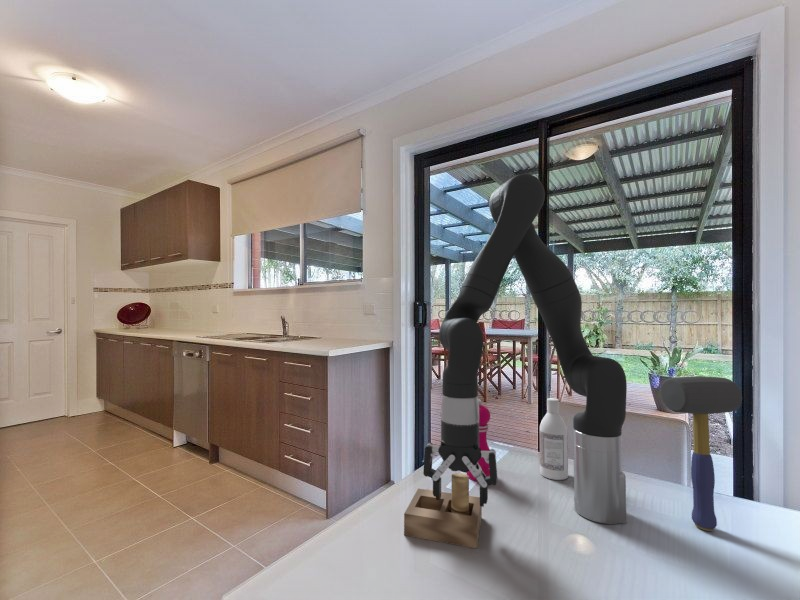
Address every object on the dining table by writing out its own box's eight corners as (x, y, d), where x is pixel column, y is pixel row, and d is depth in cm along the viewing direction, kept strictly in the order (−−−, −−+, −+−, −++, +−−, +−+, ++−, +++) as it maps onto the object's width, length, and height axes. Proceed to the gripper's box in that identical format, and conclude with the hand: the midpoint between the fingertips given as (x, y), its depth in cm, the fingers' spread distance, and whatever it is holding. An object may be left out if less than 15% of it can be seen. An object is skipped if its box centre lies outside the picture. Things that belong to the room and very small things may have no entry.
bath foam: (549, 468, 103) (548, 395, 104) (573, 476, 98) (572, 399, 99) (534, 474, 99) (533, 398, 100) (559, 483, 94) (558, 403, 95)
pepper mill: (495, 482, 94) (495, 402, 95) (467, 482, 94) (467, 402, 95) (489, 471, 101) (489, 396, 102) (462, 470, 101) (462, 396, 102)
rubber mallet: (715, 517, 78) (710, 373, 80) (752, 538, 71) (746, 379, 72) (660, 519, 77) (656, 373, 79) (691, 540, 70) (686, 379, 71)
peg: (470, 525, 74) (470, 474, 75) (468, 535, 71) (468, 481, 71) (452, 522, 75) (452, 471, 76) (449, 531, 72) (450, 478, 72)
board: (481, 517, 77) (481, 497, 77) (476, 548, 67) (476, 525, 67) (418, 507, 81) (418, 488, 81) (404, 535, 70) (404, 513, 71)
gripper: (497, 416, 76) (497, 498, 75) (428, 410, 80) (428, 488, 79) (496, 426, 68) (496, 517, 68) (420, 419, 73) (420, 505, 72)
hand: (459, 501), depth 73 cm, fingers open, 8 cm apart
